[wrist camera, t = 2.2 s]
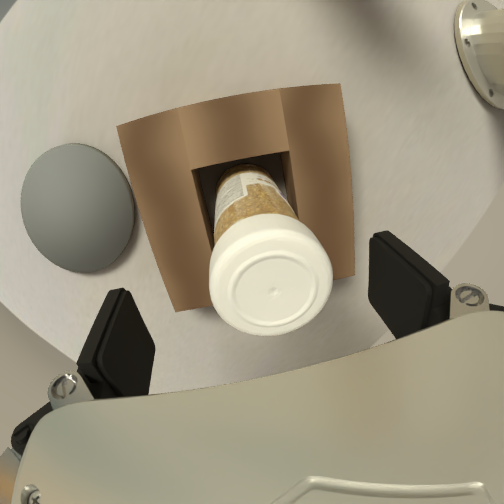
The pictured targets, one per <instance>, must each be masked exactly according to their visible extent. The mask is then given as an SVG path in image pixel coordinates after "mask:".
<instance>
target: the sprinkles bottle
mask: <svg viewBox="0 0 504 504" xmlns="http://www.w3.org/2000/svg"><path fill="white" fill-rule="evenodd" d="M214 242H215V247H214V249H213V252H212V255H211V259H210V268H209V290H210V296H211V301H212V303H213V306H214V308H215V309H216V311H217V312H218V314H219V315H220V317H221V318H222V319H223V320H224V321H225V322H226V323H228V324H229V325H230V326H232V327H233V328H235V329H237V330H239V331H242V332H244V333H247V334H251V335H256V336H276V335H281V334H285V333H289V332H292V331H294V330H296V329H298V328H300V327H302V326H304V325H305V324H307V323H308V322H310V321H311V320H312V319H313V318H314V317H315V316H316V315H317V314H318V313H319V312H320V311H321V310H322V309H323V307H324V306H325V304H326V302H327V301H328V298H329V296H330V293H331V290H332V285H333V270H332V265H331V262H330V259H329V257H328V255H327V253H326V251H325V250H324V248H323V247H322V245H321V243H320V242H319V241H318V239H317V238H316V236H315V235H314V234H313V232H312V231H311V230H310V229H309V228H307V227H306V226H305V225H304V224H303V223H301V222H300V221H299V220H298V218H297V216H296V215H295V213H294V211H293V209H292V207H291V206H290V205H289V203H288V202H287V200H286V199H285V197H284V196H283V194H282V193H281V191H280V190H279V188H278V187H277V185H276V184H275V182H274V180H273V179H272V177H271V175H270V174H269V173H268V172H267V171H266V170H264V169H263V168H261V167H259V166H257V165H254V164H241V165H236V166H234V167H232V168H230V169H228V170H227V171H226V172H225V173H224V174H223V175H222V176H221V178H220V179H219V181H218V184H217V187H216V209H215V225H214Z"/></svg>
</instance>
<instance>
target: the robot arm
mask: <svg viewBox="0 0 504 504" xmlns="http://www.w3.org/2000/svg"><path fill="white" fill-rule="evenodd" d="M454 28H455V38H456V44H457V48H458V52H459V55H460V58H461V61H462V63H463V66H464V69H465V71H466V73H467V75H468V77H469V79H470V81H471V82H472V84H473V86H474V87H475V89H476V90H477V91H478V93H479V94H480V95H481V97H482V98H483V99H485V100H486V101H487V102H488V103H489V104H491V105H492V106H494V107H496V108H499V109H504V9H497V8H496V7H495V6H493V5H492V4H490V3H489V2H487V1H485V0H466V1H464V2H462V3H461V4H460V6H459V7H458V8H457V11H456V14H455V22H454ZM449 282H450V281H449V280H448V279H447V278H446V277H444V276H443V275H442V274H441V273H440V272H439V271H437V270H436V269H435V268H434V267H433V266H432V265H430V264H429V263H428V262H427V261H426V260H424V259H423V258H422V257H421V256H420V255H418V254H417V253H416V252H415V251H413V250H412V249H411V248H410V247H408V246H407V245H406V244H405V243H403V242H402V241H401V240H400V239H398V238H397V237H396V236H395V235H393V234H392V233H391V232H389V231H382V232H378V233H374V234H373V238H370V241H369V286H368V298H369V301H370V303H371V305H372V306H373V308H374V309H375V310H376V312H377V313H378V314H379V316H380V317H381V318H382V320H383V321H384V323H385V324H386V325H387V327H388V328H389V329H390V331H391V332H392V334H393V335H394V336H395V338H396V340H393V341H390V342H387V343H384V344H381V345H378V346H376V347H372V348H369V349H366V350H363V351H360V352H357V353H354V354H350V355H347V356H344V357H340V358H337V359H333V360H330V361H326V362H323V363H319V364H315V365H312V366H308V367H304V368H300V369H296V370H292V371H288V372H283V373H279V374H275V375H270V376H266V377H261V378H256V379H251V380H246V381H241V382H236V383H230V384H224V385H219V386H213V387H206V388H200V389H193V390H186V391H178V392H170V393H161V394H151V395H148V393H149V386H150V380H151V374H152V367H153V361H154V356H155V344H154V341H153V339H152V337H151V335H150V333H149V331H148V329H147V327H146V325H145V323H144V321H143V319H142V317H141V315H140V312H139V310H138V308H137V306H136V304H135V301H134V299H133V297H132V295H131V293H130V291H126V290H125V289H124V288H119V289H114V290H110V291H109V292H108V294H107V296H106V298H105V300H104V302H103V304H102V306H101V309H100V311H99V313H98V315H97V317H96V319H95V321H94V324H93V326H92V328H91V330H90V333H89V335H88V337H87V339H86V342H85V344H84V346H83V349H82V351H81V354H80V356H79V358H78V361H77V363H76V364H77V365H78V370H77V372H75V371H67V372H63V373H61V374H59V375H58V376H57V377H55V378H54V379H53V381H52V382H51V383H50V385H49V388H48V398H49V400H50V402H48V403H47V404H46V405H44V406H43V407H42V408H40V409H39V410H38V411H37V412H35V413H34V414H32V415H31V416H30V417H28V418H27V419H26V420H25V421H23V422H22V423H20V424H19V425H18V426H17V427H16V428H15V429H14V431H13V434H12V437H11V444H12V447H13V448H12V449H10V448H9V447H8V448H7V449H6V450H5V451H4V453H3V454H2V455H1V456H0V504H504V307H503V306H498V305H493V304H489V300H488V296H487V294H486V292H485V291H484V290H483V289H481V288H480V287H478V286H476V285H473V284H465V283H464V284H459V285H457V286H455V287H454V288H453V289H451V288H450V287H449Z"/></svg>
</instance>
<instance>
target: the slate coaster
mask: <svg viewBox="0 0 504 504" xmlns="http://www.w3.org/2000/svg"><path fill="white" fill-rule="evenodd" d="M21 212H22V218H23V222H24V225H25V228H26V230H27V233H28V235H29V237H30V239H31V240H32V242H33V244H34V245H35V246H36V248H37V249H38V250H39V251H40V252H41V253H42V255H44V256H45V257H46V258H47V259H48V260H50V261H51V262H52V263H54V264H55V265H57V266H59V267H61V268H64V269H66V270H69V271H73V272H94V271H97V270H100V269H102V268H104V267H107V266H108V265H110V264H111V263H112V262H113V261H115V260H116V259H117V258H118V256H119V255H120V254H121V253H122V251H123V250H124V248H125V246H126V245H127V243H128V241H129V239H130V236H131V234H132V230H133V227H134V219H135V207H134V200H133V195H132V191H131V189H130V186H129V183H128V181H127V179H126V177H125V175H124V174H123V172H122V171H121V169H120V168H119V167H118V165H117V164H116V163H115V162H114V161H113V160H112V159H111V158H110V157H109V156H108V155H106V154H105V153H103V152H102V151H100V150H98V149H96V148H94V147H91V146H88V145H85V144H66V145H61V146H58V147H55V148H53V149H50V150H49V151H47V152H45V153H44V154H42V155H41V156H40V157H39V158H38V159H37V160H36V161H35V162H34V163H33V165H32V166H31V168H30V169H29V171H28V173H27V175H26V177H25V180H24V183H23V187H22V192H21Z"/></svg>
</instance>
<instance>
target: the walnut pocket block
mask: <svg viewBox="0 0 504 504" xmlns="http://www.w3.org/2000/svg"><path fill="white" fill-rule="evenodd" d="M117 131H118V135H119V139H120V143H121V147H122V151H123V155H124V159H125V163H126V166H127V170H128V174H129V177H130V181H131V184H132V188H133V191H134V195H135V198H136V201H137V205H138V208H139V211H140V214H141V217H142V221H143V224H144V227H145V230H146V233H147V236H148V239H149V242H150V245H151V248H152V251H153V254H154V256H155V259H156V262H157V265H158V268H159V270H160V273H161V276H162V279H163V281H164V284H165V287H166V289H167V292H168V294H169V297H170V300H171V302H172V305H173V307H174V310H175V312H179V311H185V310H191V309H196V308H202V307H207V306H213V303H212V301H211V296H210V290H209V268H210V259H211V255H212V252H213V249H214V247H215V242H214V236H213V232H212V228H211V224H210V219H209V215H208V211H207V207H206V203H205V199H204V195H203V190H202V186H201V182H200V178H199V173H198V169H197V168H200V167H205V166H209V165H214V164H219V163H223V162H228V161H233V160H238V159H243V158H249V157H254V156H259V155H265V154H271V153H277V152H280V153H281V160H282V166H283V173H284V179H285V186H286V193H287V200H288V203H289V205H290V206H291V207H292V209H293V211H294V213H295V215H296V216H297V218H298V220H299V221H300V222H301V223H303V224H304V225H305V226H306V227H307V228H309V229H310V230H311V231H312V232H313V234H314V235H315V236H316V238H317V239H318V241H319V242H320V243H321V245H322V247H323V248H324V250H325V251H326V253H327V255H328V257H329V259H330V262H331V265H332V270H333V280H337V279H341V278H345V277H349V276H353V275H355V251H354V215H353V196H352V181H351V168H350V156H349V146H348V137H347V128H346V120H345V112H344V105H343V98H342V92H341V85H340V84H323V85H310V86H299V87H289V88H281V89H273V90H265V91H259V92H252V93H246V94H240V95H234V96H229V97H224V98H219V99H214V100H209V101H205V102H200V103H196V104H191V105H187V106H183V107H179V108H175V109H172V110H168V111H164V112H161V113H157V114H154V115H150V116H147V117H144V118H140V119H137V120H134V121H131V122H128V123H125V124H122V125H119V126H117Z"/></svg>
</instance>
